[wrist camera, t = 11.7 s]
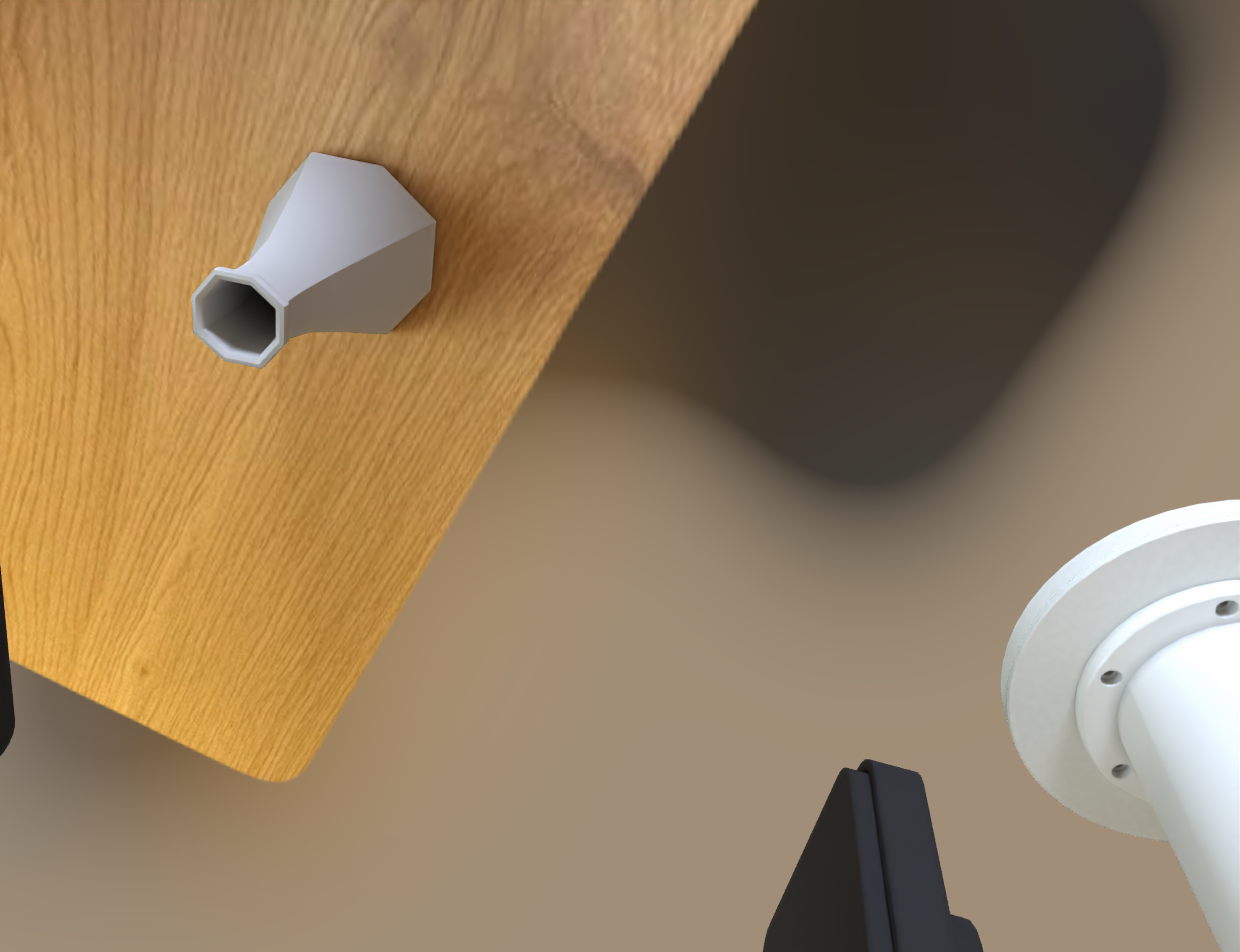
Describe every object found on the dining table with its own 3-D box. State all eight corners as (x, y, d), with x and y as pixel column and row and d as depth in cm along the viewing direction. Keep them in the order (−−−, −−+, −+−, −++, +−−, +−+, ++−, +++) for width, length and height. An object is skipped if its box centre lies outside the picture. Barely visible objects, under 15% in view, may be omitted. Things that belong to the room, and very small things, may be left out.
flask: (246, 276, 41) (105, 358, 32) (300, 117, 38) (160, 159, 29) (401, 359, 42) (305, 461, 33) (467, 211, 38) (380, 279, 30)
